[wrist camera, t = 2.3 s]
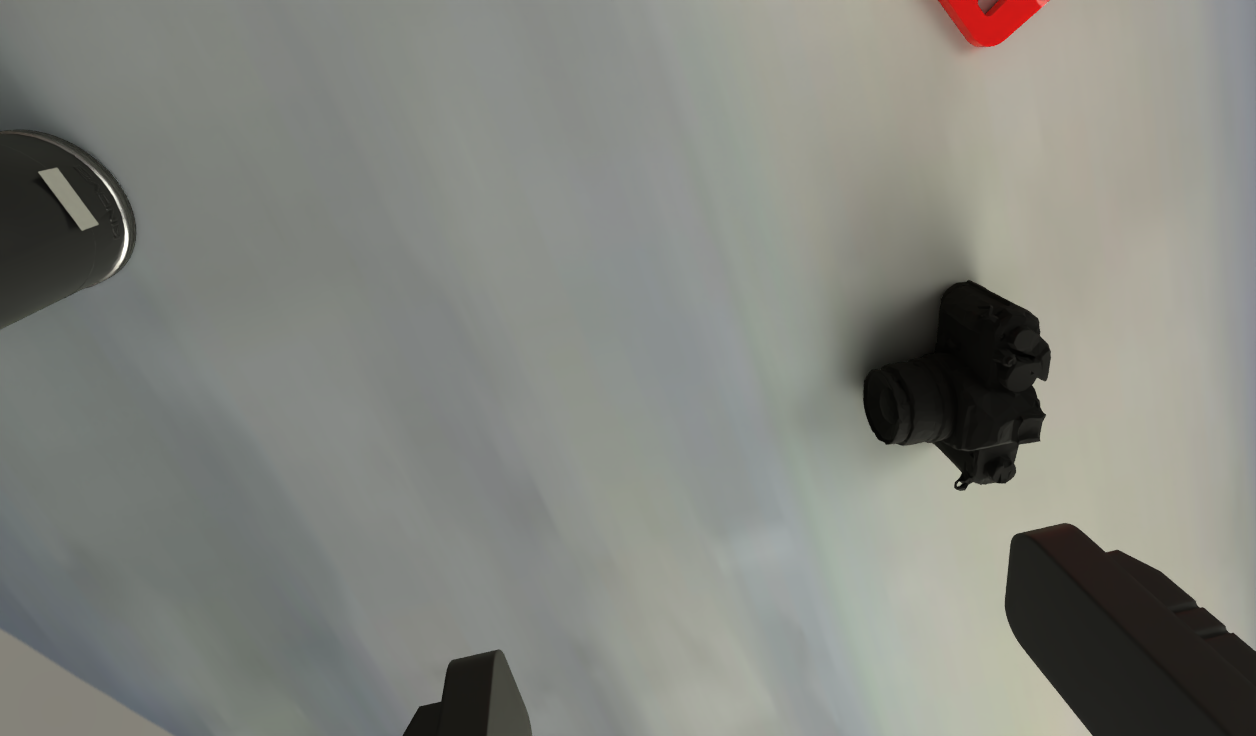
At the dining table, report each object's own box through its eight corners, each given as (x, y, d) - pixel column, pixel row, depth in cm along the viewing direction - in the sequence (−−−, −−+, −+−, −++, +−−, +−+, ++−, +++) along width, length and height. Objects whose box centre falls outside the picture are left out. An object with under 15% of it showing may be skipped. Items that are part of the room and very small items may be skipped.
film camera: (867, 289, 48) (932, 336, 40) (992, 272, 48) (1081, 316, 40) (855, 459, 54) (908, 529, 46) (965, 443, 55) (1037, 509, 47)
